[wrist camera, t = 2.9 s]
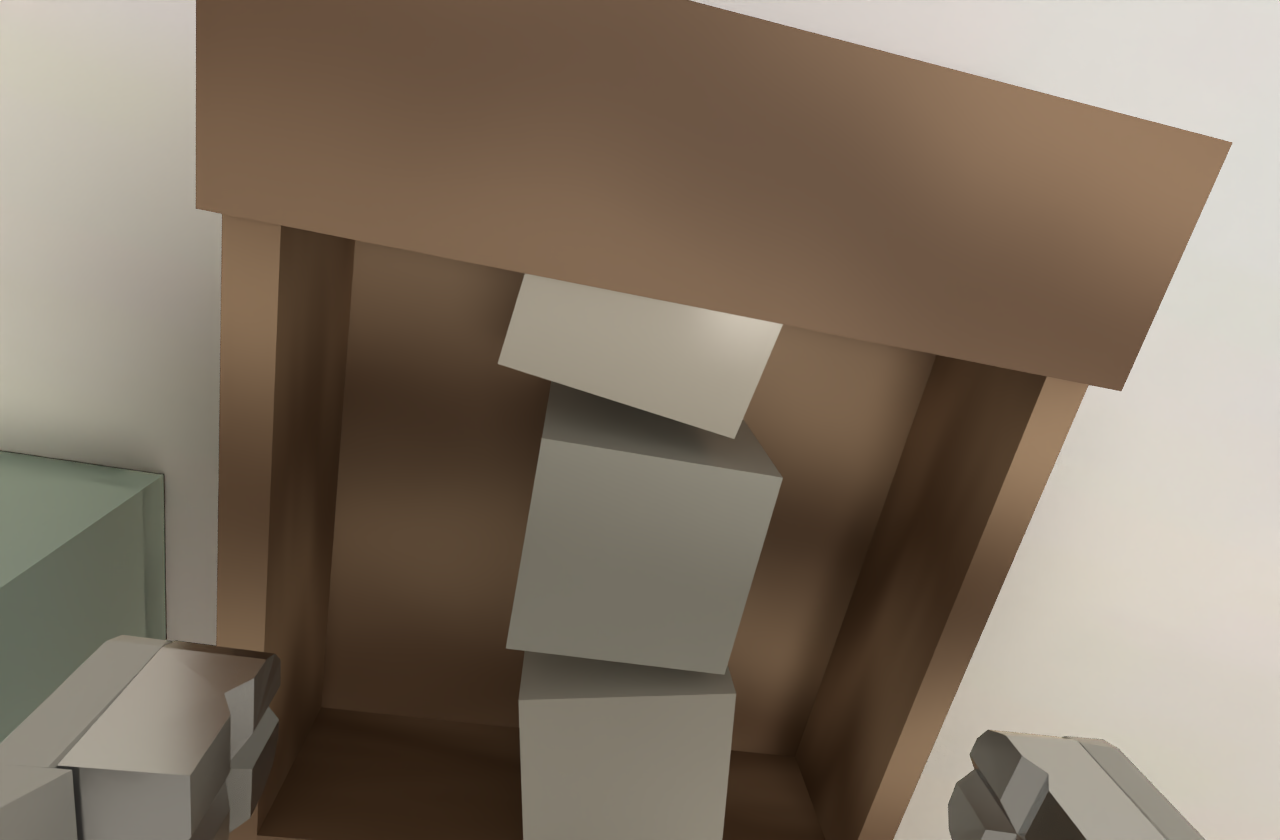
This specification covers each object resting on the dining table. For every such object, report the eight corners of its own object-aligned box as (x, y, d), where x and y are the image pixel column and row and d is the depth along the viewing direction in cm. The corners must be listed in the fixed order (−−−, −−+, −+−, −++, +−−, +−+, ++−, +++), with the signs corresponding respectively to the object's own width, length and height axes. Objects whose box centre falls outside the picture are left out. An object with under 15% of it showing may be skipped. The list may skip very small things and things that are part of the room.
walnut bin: (805, 758, 20) (875, 941, 15) (298, 705, 18) (194, 896, 13) (1021, 155, 14) (1231, 142, 10) (341, -12, 13) (196, -129, 8)
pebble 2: (692, 709, 18) (720, 852, 14) (537, 714, 17) (524, 862, 14) (701, 576, 16) (735, 694, 13) (534, 579, 16) (518, 700, 12)
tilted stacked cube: (692, 560, 16) (724, 675, 12) (524, 536, 16) (505, 648, 12) (732, 403, 15) (782, 478, 11) (552, 371, 14) (541, 438, 11)
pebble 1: (696, 374, 15) (734, 438, 11) (520, 316, 14) (498, 363, 10) (767, 194, 14) (835, 199, 10) (579, 120, 13) (578, 96, 9)
